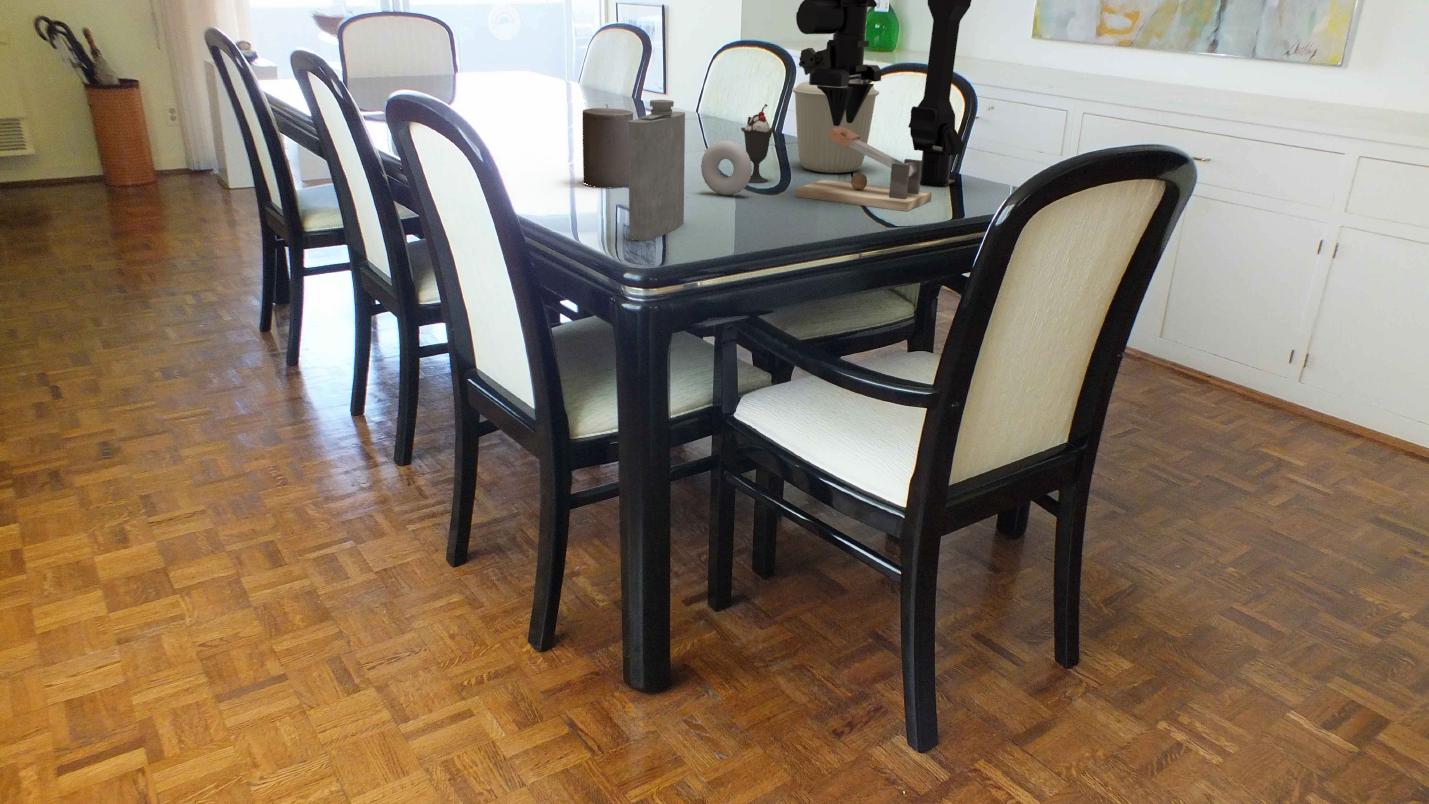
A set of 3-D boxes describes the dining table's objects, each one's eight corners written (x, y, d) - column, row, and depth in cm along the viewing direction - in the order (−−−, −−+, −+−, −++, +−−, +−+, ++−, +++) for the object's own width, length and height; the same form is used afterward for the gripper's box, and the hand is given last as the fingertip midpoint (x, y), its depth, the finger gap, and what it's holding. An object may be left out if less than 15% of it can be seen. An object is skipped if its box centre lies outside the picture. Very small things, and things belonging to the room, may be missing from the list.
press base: (823, 187, 202) (825, 148, 200) (930, 200, 192) (934, 159, 189) (795, 196, 193) (797, 155, 190) (906, 211, 182) (910, 168, 180)
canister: (773, 165, 226) (777, 63, 218) (844, 161, 233) (851, 63, 225) (815, 179, 211) (821, 70, 203) (889, 174, 218) (898, 69, 210)
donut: (753, 196, 192) (755, 141, 188) (746, 199, 189) (748, 143, 185) (705, 191, 196) (706, 137, 192) (697, 194, 193) (698, 139, 189)
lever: (838, 137, 194) (843, 125, 193) (914, 177, 189) (919, 165, 187) (826, 140, 190) (831, 128, 189) (904, 181, 185) (909, 169, 183)
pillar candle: (573, 185, 198) (572, 104, 192) (597, 177, 207) (597, 99, 201) (619, 190, 195) (619, 108, 189) (641, 182, 203) (642, 103, 198)
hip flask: (669, 220, 171) (670, 94, 164) (691, 222, 170) (693, 96, 162) (625, 239, 158) (624, 103, 150) (649, 242, 156) (649, 105, 149)
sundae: (770, 184, 204) (773, 105, 198) (736, 182, 205) (739, 104, 199) (775, 178, 210) (778, 102, 204) (742, 177, 211) (744, 100, 205)
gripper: (830, 31, 195) (825, 116, 201) (784, 33, 180) (780, 125, 186) (885, 33, 190) (878, 121, 196) (843, 36, 175) (836, 130, 181)
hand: (843, 124), depth 190 cm, fingers open, 5 cm apart
